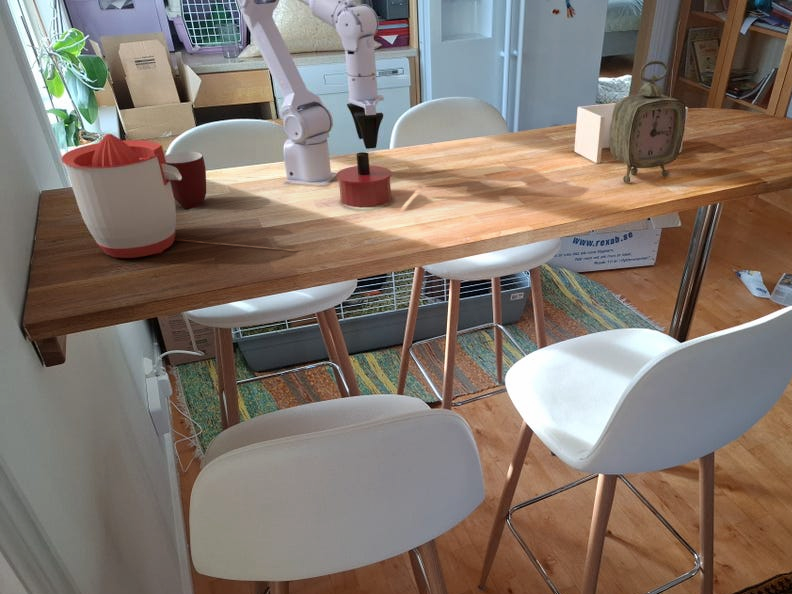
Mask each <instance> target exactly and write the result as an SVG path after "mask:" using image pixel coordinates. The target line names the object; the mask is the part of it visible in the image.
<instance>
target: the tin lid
mask: <svg viewBox="0 0 792 594" xmlns="http://www.w3.org/2000/svg"><path fill="white" fill-rule="evenodd" d="M336 173H337V175H336V176H335V177H336V179H337V180H338V182H339V181H341V182H344V183H348V184H357V185H365V184H374V183H379V182H383V181H386V180H388V179H389V178H390V179H391V178H392V171H391V170H390V169H389V168H387V167H384V166H379V165H370V157H369V152H365V151H364V152H363V151H361V152H358V153H356V165H354V166H349V167H346V168H343V169H340V170H339V171H337V172H336Z"/></svg>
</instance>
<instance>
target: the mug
mask: <svg viewBox="0 0 792 594" xmlns="http://www.w3.org/2000/svg"><path fill="white" fill-rule="evenodd" d="M164 156H165V160H166V164H167V165H170V166H173V167H176V168H177V169H178V171H179V173H180V174H181V176H182V179H181V180H170V183H171V187H172V191H173V196H174V200H175V202H177V203H178V204H179V205H180V206H181V208H183V209H184V210H185V209H186V210H190V209H193V208H195V207H198V206H202V205H203V204H204V202H205V199H206V195H207V169H206V163H205V158H204V155H203V154H202V153H201V152H198V151H177V152H172V153H168V154H164Z"/></svg>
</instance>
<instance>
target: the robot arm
mask: <svg viewBox="0 0 792 594" xmlns="http://www.w3.org/2000/svg"><path fill="white" fill-rule="evenodd" d="M236 1H237V3H238V4H239V5H238V6H239V7H240V10H241V13H242V17H243V20H244V22H245V24H246V26H247V28H248V31H249V32H250V34H251V36H252V38H253V40H254V42H255V44H256V47H257V48H258V51H259V52H260V54H261V57H262V59H263V60H264V62H265V65H266V67H267V69H268V70H269V73H270V75H271V76H272V79H273V81H274V83H275V85H276V86H277V89H278V91H279V93H280V95H281V97H282V99H283V102H282V104H281V107H280V109H279V111H278V113H279V115H280V118H281V120H282V123H283V129H284V133H285V134H286V136H287V137H288V139H286V140H285V142H284V144H283V149H282V150H283V152H282V153H283V160H284V167H285V175H286V180H285V182H289V183H291V182H292V183H304V184H319V185H326V184H327V183H329V182H330V181H331V180H332V179H333V178H335V177H337V176H336V175H337V173H338V172H332V168H331V161H330V160H331V159H330V151H329V150H330V149H329V143H328V141H329V140H328V138H330V132H331V131H332V129H333V127H334V120H333V116H332V114H331V113H332V112H331V111H330V109H328V108H327V106H326V105H325V104H324V103H323V102H322V100H321V98H320V96H318V95H317V94H315V93H314V92H312V91H310V90H309V89H308V88H307V85H306V83H305V81H304V80H303V77H302V75H301V74H300V72H299V69H298V67H297V64H295V61H294V59H293V57H292V55H291V53H290V51H289V49H288V47H287V44H286V42H285V40H284V38H283V36H282V34H281V32H280V30H279V28H278V26H277V24H276V22H275V20H274V18H273V16H274V11H275V10H276V9H277V8H278V5H279V3H280V1H281V0H236ZM297 1H298V2H300V3H302V4H304V5H305V6H308V7H309V9H310V12H311V14H312V15H313V16H314V17H315V18H317V19H318V20H320V21H321V22H323V23H325V24H327V25H329V26H330V27H332V28H333V29H335V30H336V31H337V34H338V35H339V37H340V39H341V43H342V47H343V49H344V54H345V55H344V56H345V66H346V77H347V88H348V98H347V100H348V103H346V107H347V109H348V110H349V112H350V114H351V116H352V120H353V123H354V126H355V130H356V134H357V137H358V139H359V140H362V141H363V144H364V147H365V149H366V150H370V149H371V150H372V149H376V148H377V145H378V137H379V131H380V126H381V123H382V121H383V119H384V113H383V112H377V107H376V106H377V105H378V103H379V102H381V101H384V100H385V97H384V95H382V94H378V82H377V81H378V80H377V67H376V66H377V65H376V52H375V51H376V50H375V39H374V37H375V36H376V35H377V33H378V31H379V28H380V27H379V26H380V22H379V17H378V15H377V13H376V11H375V10H374V9H373V8H372V7H371V6H370V5H369V4H365V3H364V4H359V5H357V4H356V3H355V1H354V0H297Z"/></svg>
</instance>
